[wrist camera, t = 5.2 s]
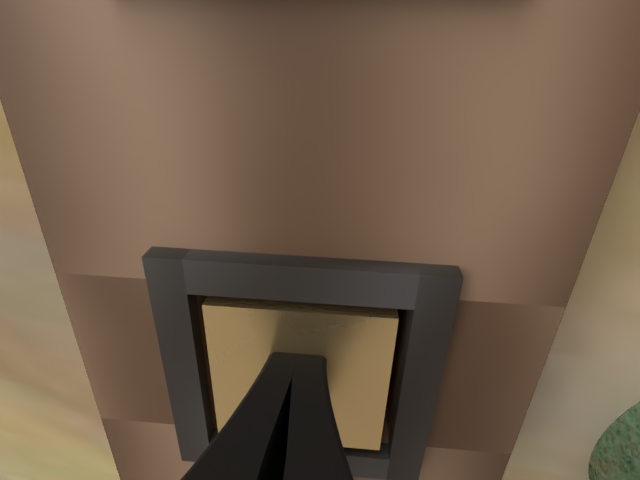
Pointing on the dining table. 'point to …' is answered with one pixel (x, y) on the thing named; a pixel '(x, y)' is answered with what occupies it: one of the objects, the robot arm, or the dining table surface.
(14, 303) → the dining table surface
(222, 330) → the brass peg
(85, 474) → the dining table surface
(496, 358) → the walnut board
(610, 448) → the decorative artifact
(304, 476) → the robot arm
